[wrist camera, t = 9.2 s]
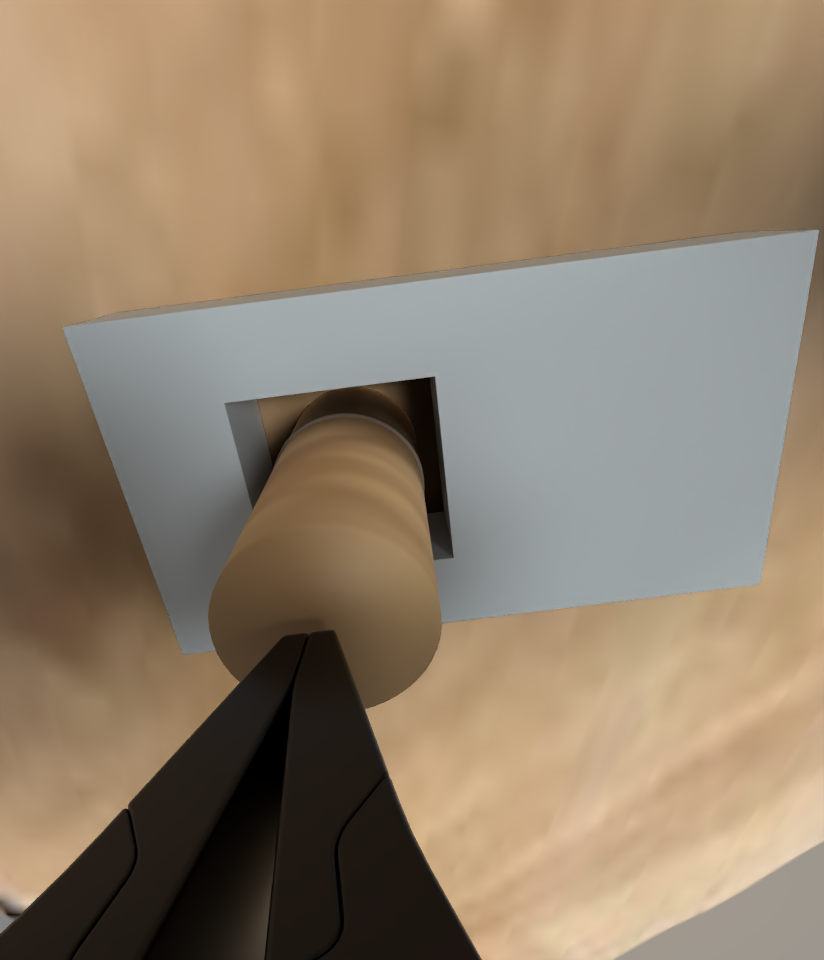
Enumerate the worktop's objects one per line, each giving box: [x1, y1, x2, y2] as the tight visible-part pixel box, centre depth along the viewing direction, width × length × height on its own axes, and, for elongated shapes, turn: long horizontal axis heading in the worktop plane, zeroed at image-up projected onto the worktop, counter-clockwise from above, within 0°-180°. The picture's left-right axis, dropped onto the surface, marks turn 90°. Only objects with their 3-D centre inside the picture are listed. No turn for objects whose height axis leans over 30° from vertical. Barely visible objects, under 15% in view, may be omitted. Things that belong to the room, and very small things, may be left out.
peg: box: [208, 387, 442, 709], centre depth 14 cm, size 4×4×9 cm
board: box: [62, 230, 819, 655], centre depth 16 cm, size 18×10×3 cm, turn 97°
